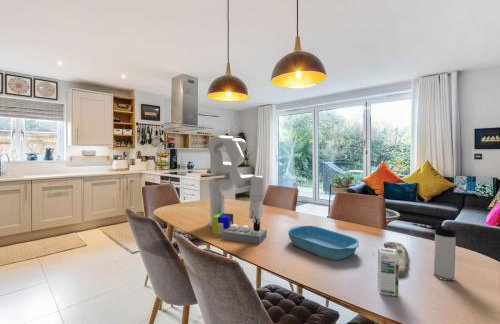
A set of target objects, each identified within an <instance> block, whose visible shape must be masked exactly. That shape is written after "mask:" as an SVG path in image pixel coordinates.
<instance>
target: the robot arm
mask: <svg viewBox="0 0 500 324" xmlns="http://www.w3.org/2000/svg"><path fill="white" fill-rule="evenodd" d="M207 143H208V145H207V147H208V151H209V157H210V159H209V161H210V165H209V167H210V174H211V175H212V176H214V177H215V178H211V179H210V180H209V181H208V189H209V190H208V191H209V200H210V202H209V210H210V211H209V214H210V215H209V216H210V219H209V222H208V223H207V226H208V227H211V228H213V216H215V215H216V214H218V213H225V208H226V207H225V197H224V195H223V193H222V192H229V191H231V190H233V188H234V186H235V188H236V189H246V188H247V189H249V201H250V202H249V219H250V220H251V221H252V223H253V228H254V231H260V229H261V218H262V217H263V215H264V214H263V213H264V211H263V210H264V205H263V202H264V177H263V176H262V175H255V174H250V173H249V174H241V173H240V171H239V169H238V168H239V166H240V165H241V164H242V163H244V162H245V160H246V159H245V158H246V157H245V156H244V152H245V151H246V149H247V142H246V141H245V140H244V139H243V138H241V137H237V136H232V135H221V134H220V135H212V136H211V137H210V138H209V140H208V142H207ZM222 149H225V150H226V153H227V155H228V158H229V160H230V161H226V160H225V161H224V154H223V152H222ZM220 176H221V177H220ZM222 176H223V177H222Z"/></svg>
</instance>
